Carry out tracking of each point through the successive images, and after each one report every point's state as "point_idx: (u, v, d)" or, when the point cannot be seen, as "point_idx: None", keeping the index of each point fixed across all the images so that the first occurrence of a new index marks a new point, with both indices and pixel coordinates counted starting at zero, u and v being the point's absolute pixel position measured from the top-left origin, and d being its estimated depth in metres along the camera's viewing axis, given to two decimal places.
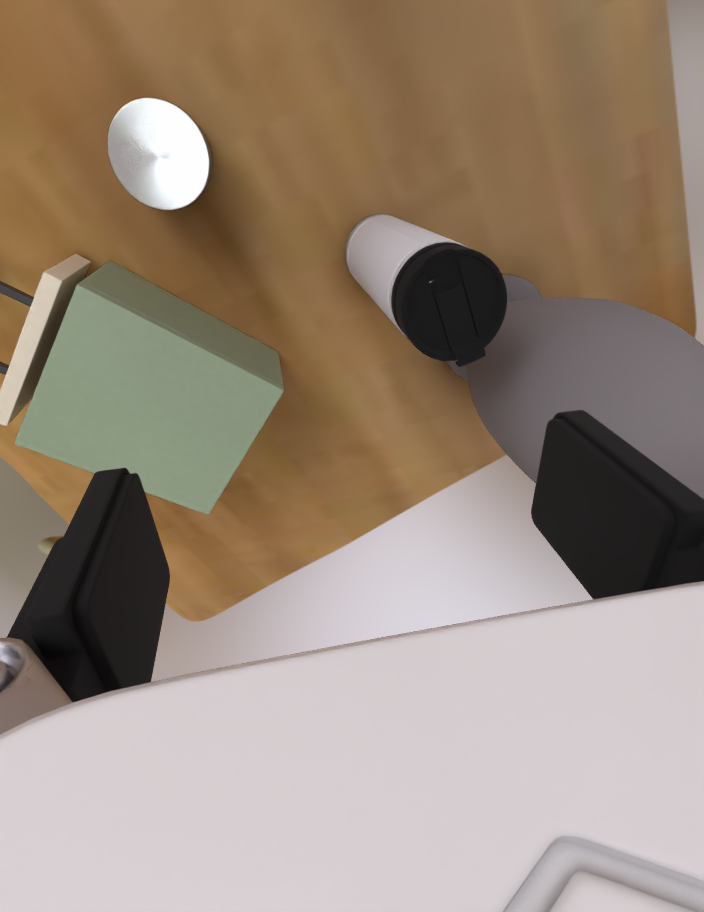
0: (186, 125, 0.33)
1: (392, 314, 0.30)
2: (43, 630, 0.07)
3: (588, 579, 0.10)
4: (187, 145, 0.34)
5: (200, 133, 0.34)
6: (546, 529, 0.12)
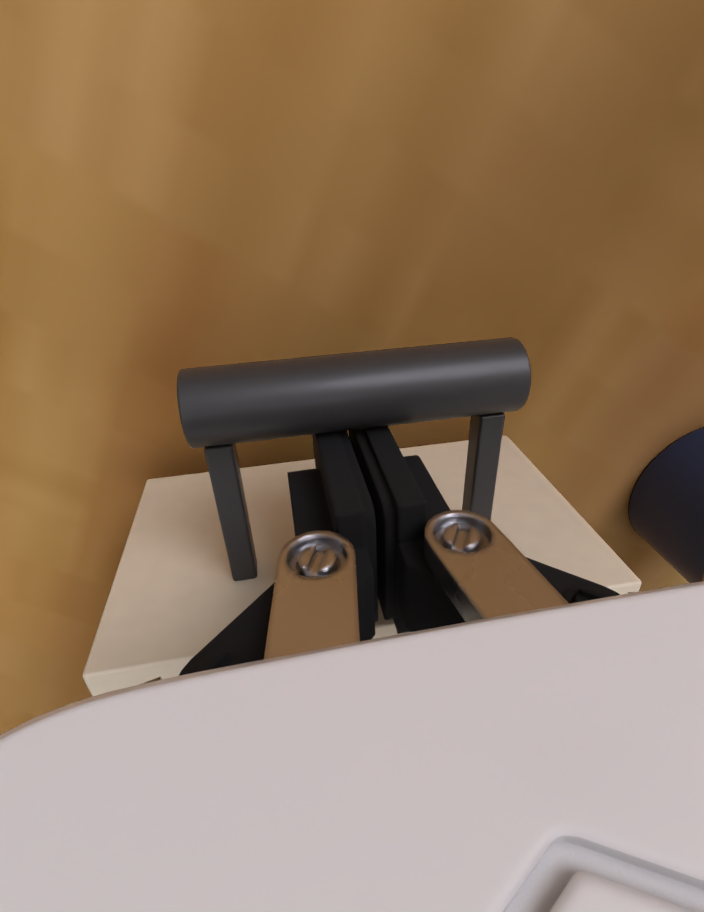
0: None
1: None
2: (346, 525, 0.08)
3: None
4: None
5: None
6: None
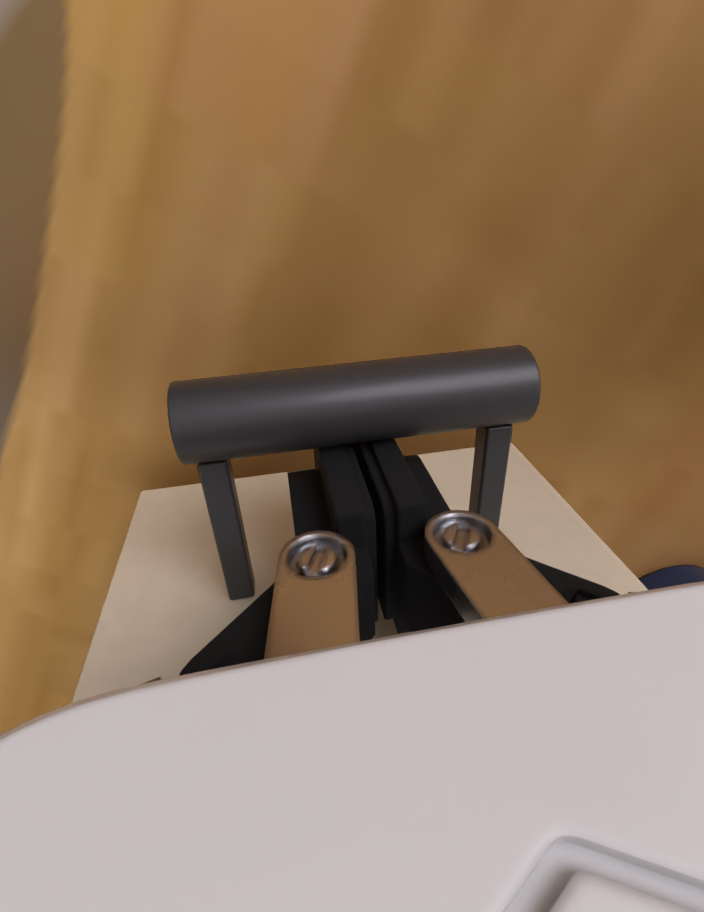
0: None
1: None
2: (346, 525, 0.08)
3: None
4: None
5: None
6: None
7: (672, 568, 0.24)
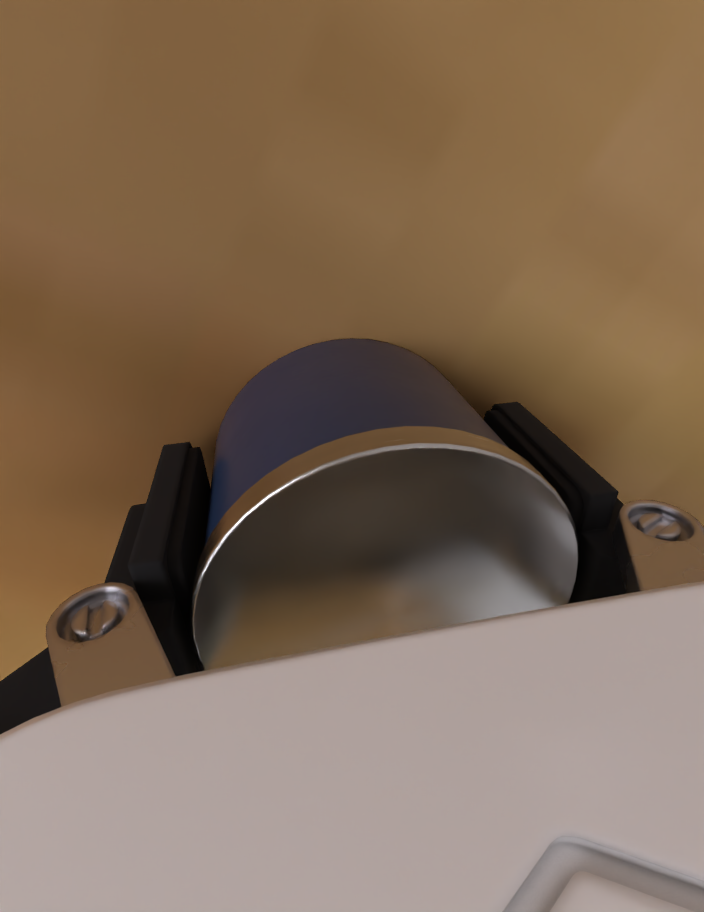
0: (447, 479, 0.07)
1: None
2: (144, 576, 0.07)
3: None
4: (475, 529, 0.08)
5: (509, 464, 0.07)
6: None
7: None
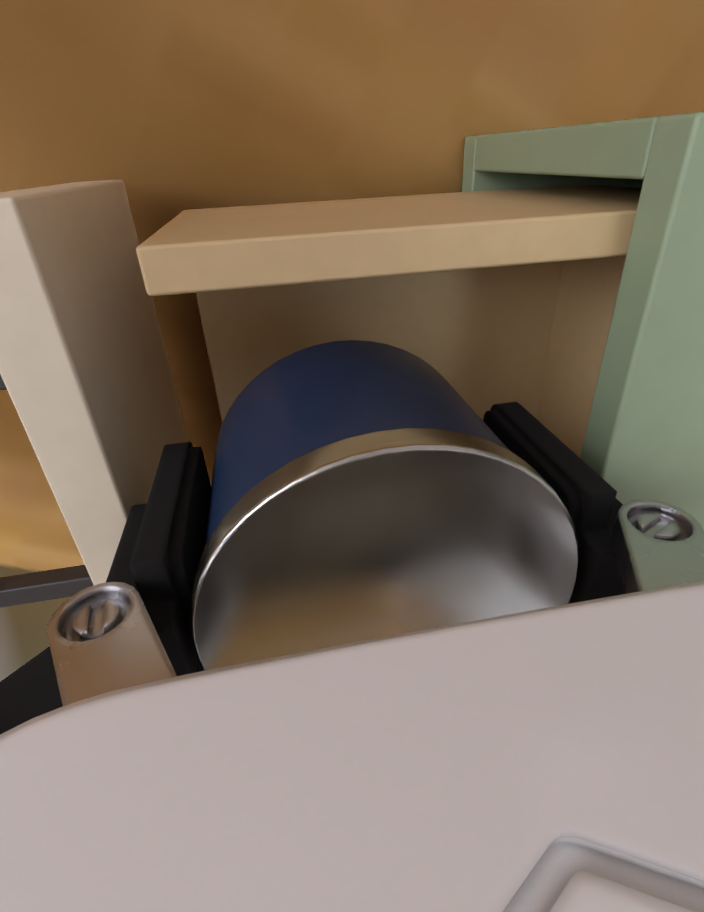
0: (447, 481, 0.07)
1: None
2: (145, 575, 0.07)
3: None
4: (475, 531, 0.08)
5: (509, 466, 0.07)
6: None
7: None
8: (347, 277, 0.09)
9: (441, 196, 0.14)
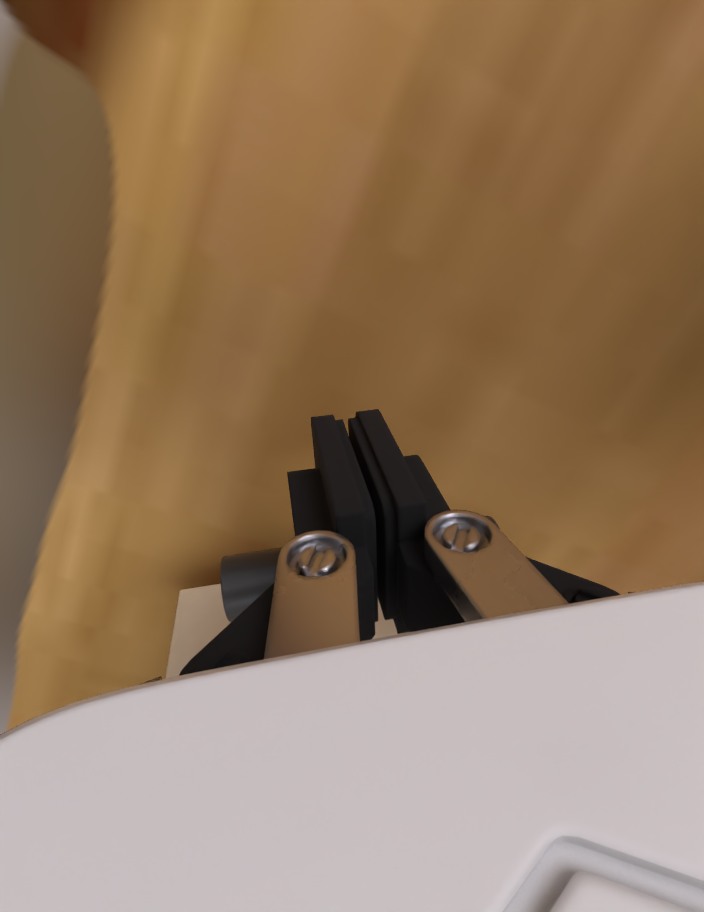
0: None
1: None
2: (346, 525, 0.08)
3: None
4: None
5: None
6: None
7: None
8: None
9: None
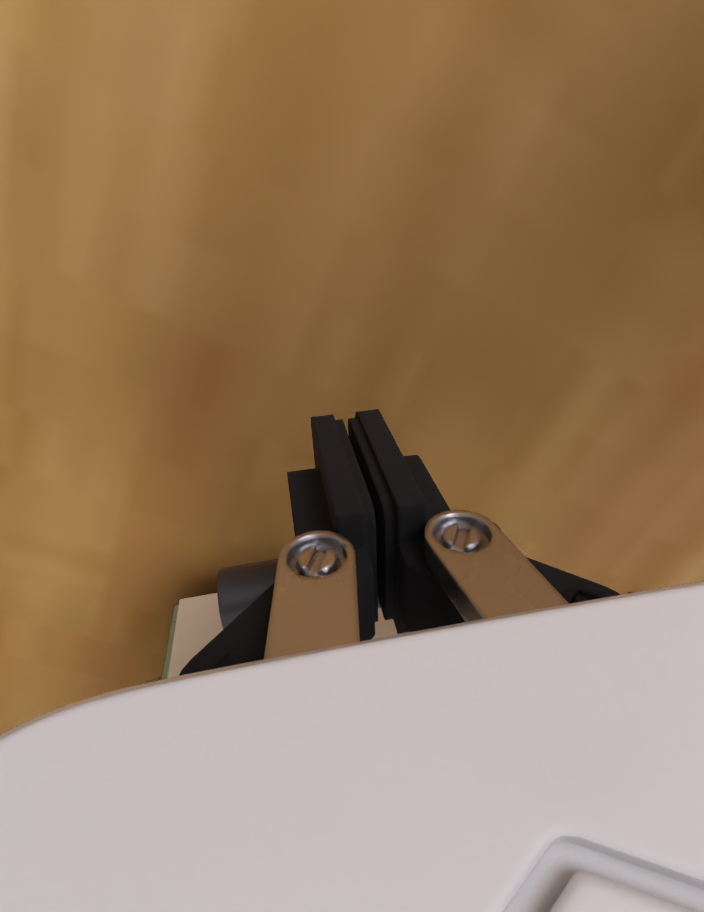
0: None
1: None
2: (346, 525, 0.08)
3: None
4: None
5: None
6: None
7: None
8: None
9: None
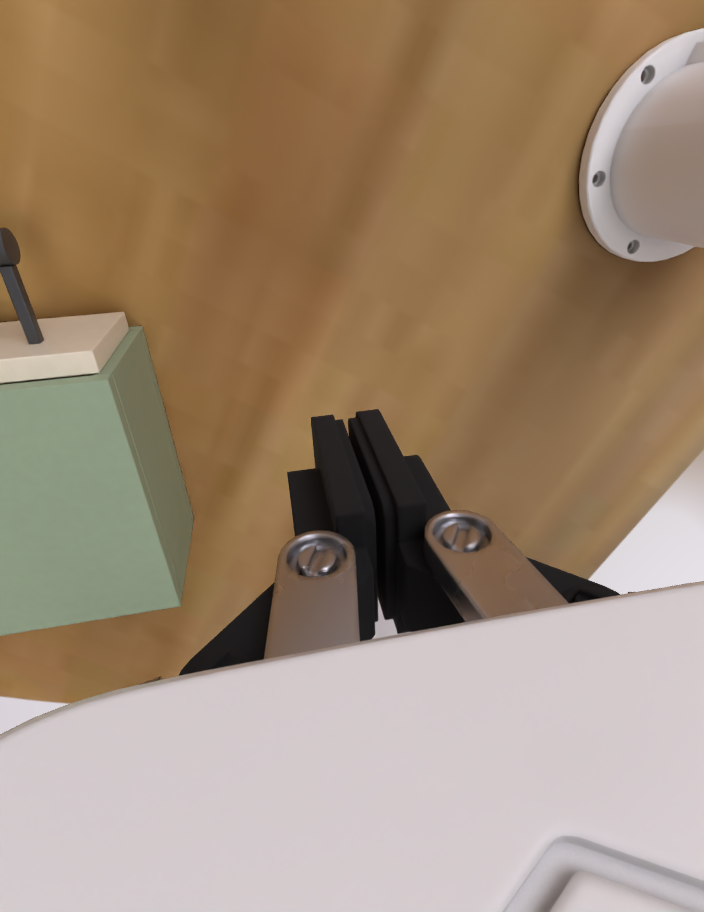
0: None
1: None
2: (346, 525, 0.08)
3: None
4: None
5: None
6: None
7: None
8: None
9: None
